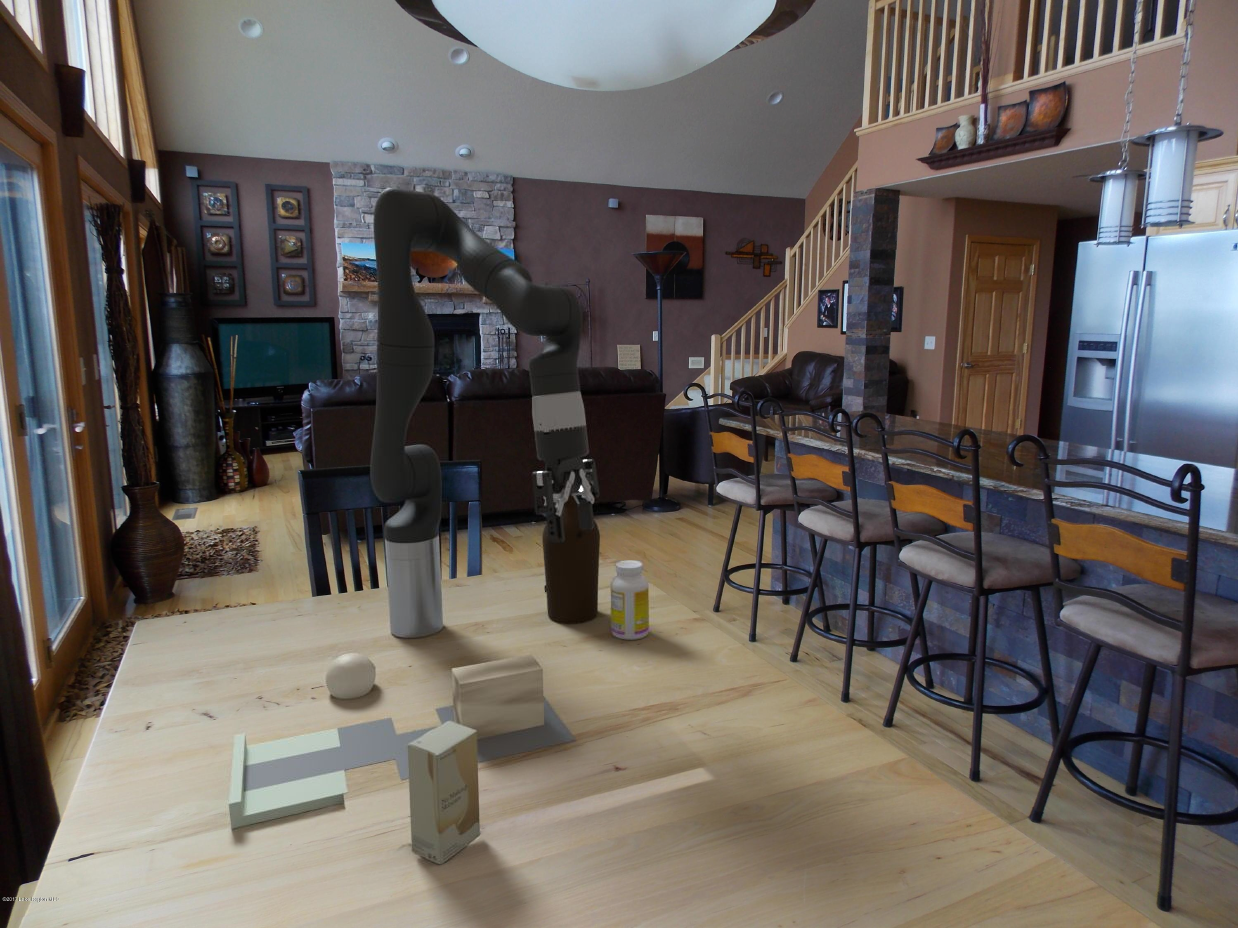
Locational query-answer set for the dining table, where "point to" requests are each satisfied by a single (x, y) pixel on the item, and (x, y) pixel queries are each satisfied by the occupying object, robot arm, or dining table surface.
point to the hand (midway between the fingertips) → (572, 535)
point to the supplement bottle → (629, 601)
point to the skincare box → (443, 791)
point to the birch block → (499, 695)
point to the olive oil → (572, 569)
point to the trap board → (346, 762)
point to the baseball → (350, 676)
